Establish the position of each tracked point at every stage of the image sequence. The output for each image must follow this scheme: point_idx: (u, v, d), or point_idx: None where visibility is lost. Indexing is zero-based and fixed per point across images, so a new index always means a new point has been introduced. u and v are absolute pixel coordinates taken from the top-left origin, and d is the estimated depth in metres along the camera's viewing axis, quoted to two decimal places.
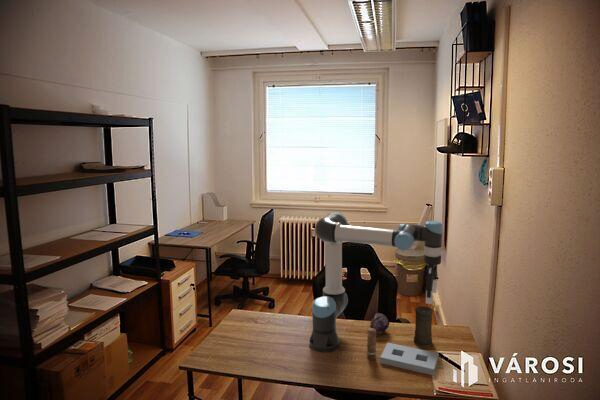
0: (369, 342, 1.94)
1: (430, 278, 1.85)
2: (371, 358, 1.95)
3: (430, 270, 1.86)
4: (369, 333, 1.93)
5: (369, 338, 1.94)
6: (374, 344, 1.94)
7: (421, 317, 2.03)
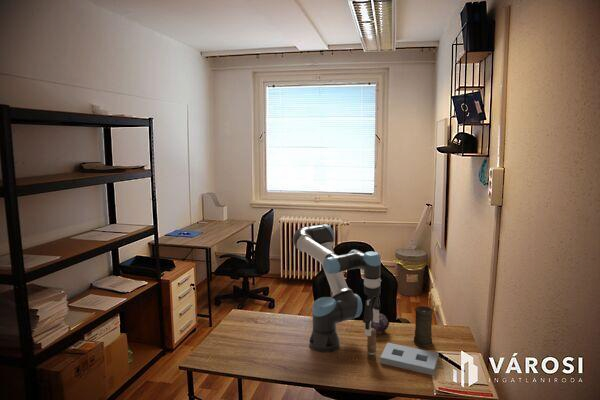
0: (369, 342, 1.94)
1: (368, 310, 1.85)
2: (371, 358, 1.95)
3: (368, 302, 1.85)
4: None
5: (369, 338, 1.94)
6: (374, 344, 1.94)
7: (421, 317, 2.03)
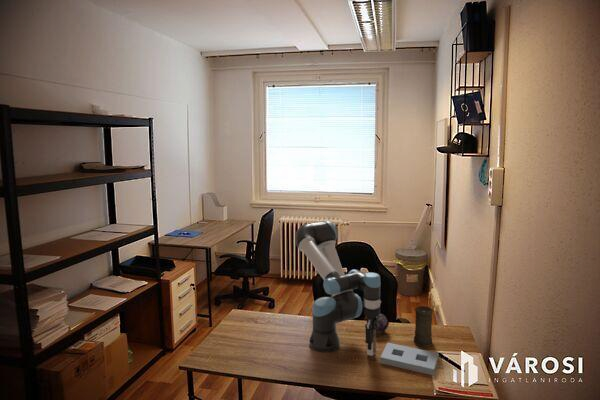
0: None
1: (369, 333, 1.89)
2: (371, 358, 1.95)
3: (368, 326, 1.88)
4: None
5: None
6: (374, 344, 1.94)
7: (421, 317, 2.03)
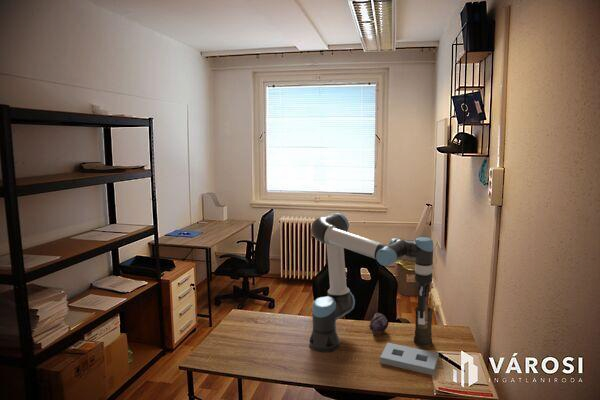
0: None
1: (421, 300, 1.79)
2: (422, 327, 1.85)
3: (421, 293, 1.78)
4: None
5: None
6: (425, 313, 1.84)
7: None
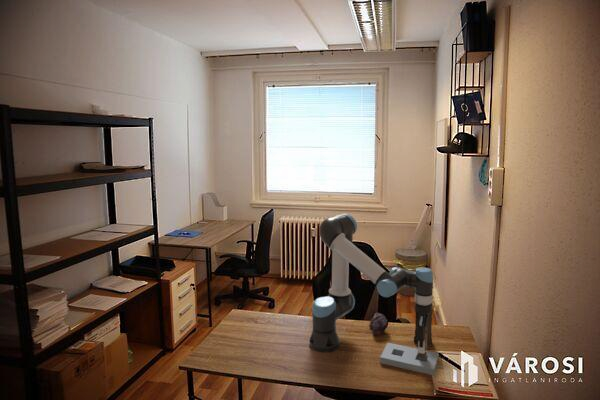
0: None
1: (421, 330, 1.82)
2: (422, 356, 1.88)
3: (421, 323, 1.81)
4: None
5: None
6: (425, 342, 1.87)
7: None
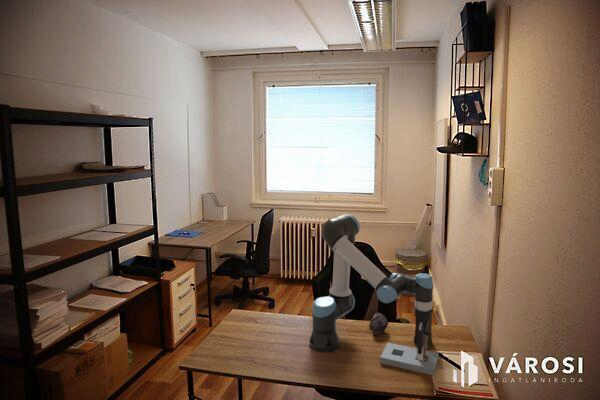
0: None
1: (420, 335, 1.81)
2: None
3: (420, 327, 1.81)
4: None
5: None
6: (425, 350, 1.88)
7: None
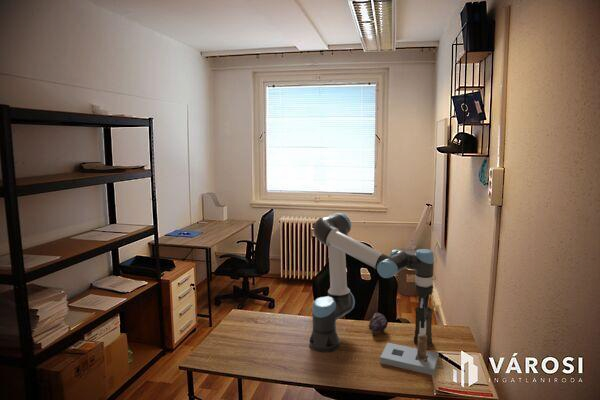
0: (420, 348, 1.88)
1: (422, 312, 1.81)
2: None
3: (421, 306, 1.79)
4: (420, 339, 1.87)
5: (420, 344, 1.87)
6: (425, 350, 1.88)
7: None
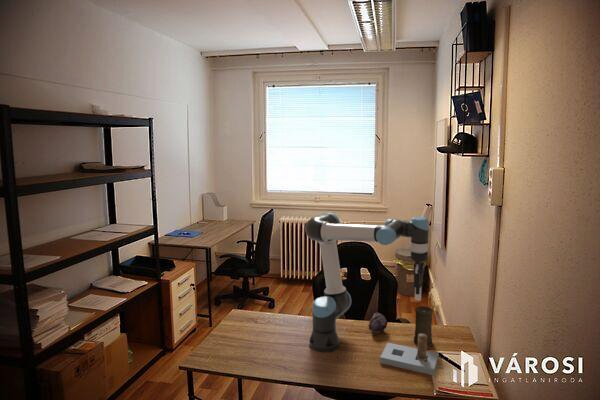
0: (420, 348, 1.88)
1: (417, 277, 1.86)
2: None
3: (416, 271, 1.84)
4: (420, 339, 1.87)
5: (420, 344, 1.87)
6: (425, 350, 1.88)
7: (421, 317, 2.03)
